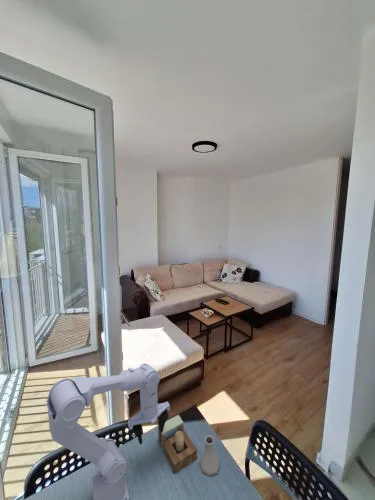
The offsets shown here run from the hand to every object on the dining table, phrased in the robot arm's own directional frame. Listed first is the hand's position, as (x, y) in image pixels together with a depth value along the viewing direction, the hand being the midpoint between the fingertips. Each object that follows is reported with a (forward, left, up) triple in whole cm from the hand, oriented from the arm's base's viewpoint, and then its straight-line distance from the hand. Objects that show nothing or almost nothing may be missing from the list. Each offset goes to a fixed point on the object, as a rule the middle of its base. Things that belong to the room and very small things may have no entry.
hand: (150, 435), depth 77 cm
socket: (+10, -4, -10) cm, 14 cm away
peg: (+10, -4, -10) cm, 14 cm away
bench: (+10, +3, -10) cm, 14 cm away
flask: (+17, -12, -10) cm, 23 cm away
